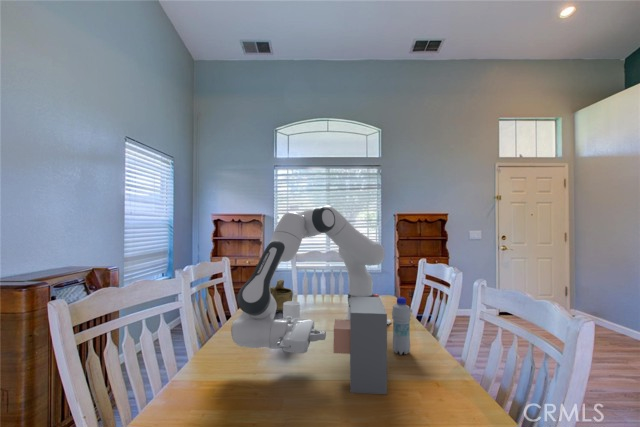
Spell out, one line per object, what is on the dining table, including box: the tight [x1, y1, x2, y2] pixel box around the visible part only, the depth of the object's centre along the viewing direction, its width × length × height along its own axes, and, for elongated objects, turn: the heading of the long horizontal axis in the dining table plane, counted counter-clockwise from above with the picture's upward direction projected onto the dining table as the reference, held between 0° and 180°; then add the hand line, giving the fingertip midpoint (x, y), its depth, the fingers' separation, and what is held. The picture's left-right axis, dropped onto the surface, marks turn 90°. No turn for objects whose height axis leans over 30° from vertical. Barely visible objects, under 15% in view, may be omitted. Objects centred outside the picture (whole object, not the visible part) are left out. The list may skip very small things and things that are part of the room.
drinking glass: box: [282, 300, 301, 319], centre depth 126 cm, size 7×7×15 cm
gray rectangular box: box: [349, 296, 388, 395], centre depth 97 cm, size 10×20×22 cm, turn 175°
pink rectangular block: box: [333, 319, 351, 355], centre depth 98 cm, size 5×9×7 cm, turn 175°
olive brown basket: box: [270, 278, 294, 313], centre depth 169 cm, size 22×17×15 cm
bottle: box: [391, 296, 412, 356], centre depth 115 cm, size 7×7×20 cm
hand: (325, 335), depth 99 cm, fingers closed
